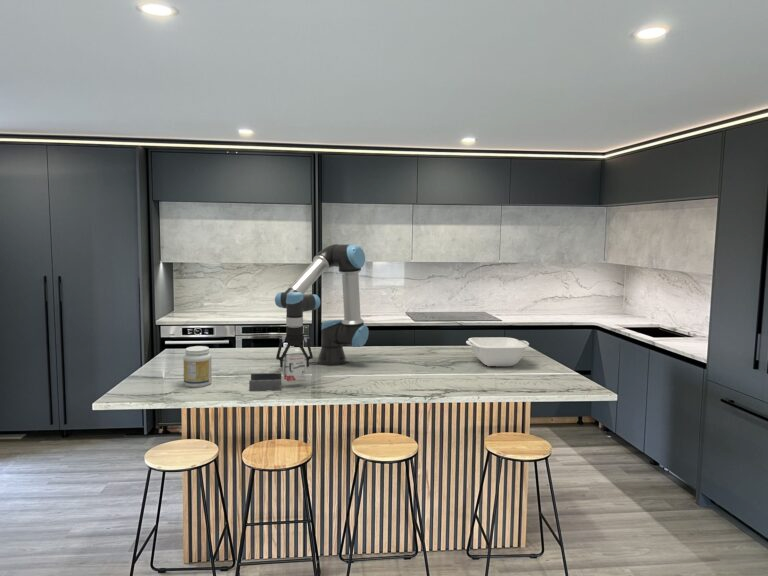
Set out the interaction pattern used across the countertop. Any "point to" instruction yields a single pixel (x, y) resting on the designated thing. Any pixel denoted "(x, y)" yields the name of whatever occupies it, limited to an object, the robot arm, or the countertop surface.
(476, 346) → the baking dish
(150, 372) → the countertop surface
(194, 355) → the supplement tub
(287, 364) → the ink box
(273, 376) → the cradle
